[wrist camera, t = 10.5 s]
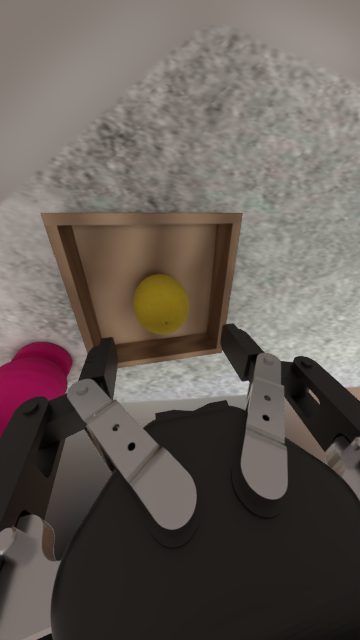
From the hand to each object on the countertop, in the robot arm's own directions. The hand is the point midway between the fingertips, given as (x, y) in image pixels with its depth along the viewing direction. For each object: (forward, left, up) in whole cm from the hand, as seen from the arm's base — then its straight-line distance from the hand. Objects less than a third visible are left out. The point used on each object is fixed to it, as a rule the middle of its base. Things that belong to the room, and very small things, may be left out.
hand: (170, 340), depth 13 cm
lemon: (0, 0, -10) cm, 10 cm away
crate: (0, 0, -11) cm, 11 cm away
